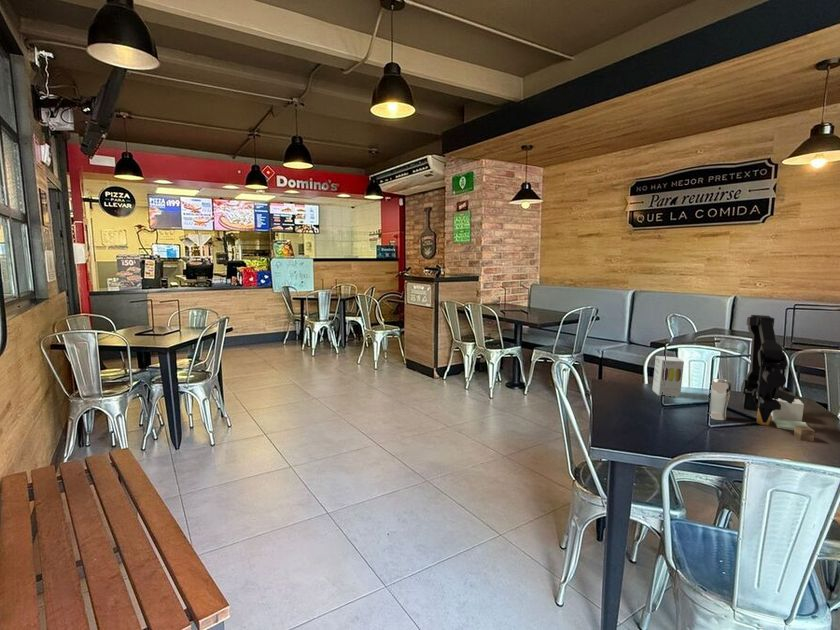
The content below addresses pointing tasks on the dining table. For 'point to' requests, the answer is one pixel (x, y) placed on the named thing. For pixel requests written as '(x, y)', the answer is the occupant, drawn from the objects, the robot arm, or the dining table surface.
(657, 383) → the supplement box
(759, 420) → the orange knob
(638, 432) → the dining table surface
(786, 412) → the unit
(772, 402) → the robot arm
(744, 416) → the dining table surface
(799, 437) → the walnut block
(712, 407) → the beer glass
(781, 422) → the pad
